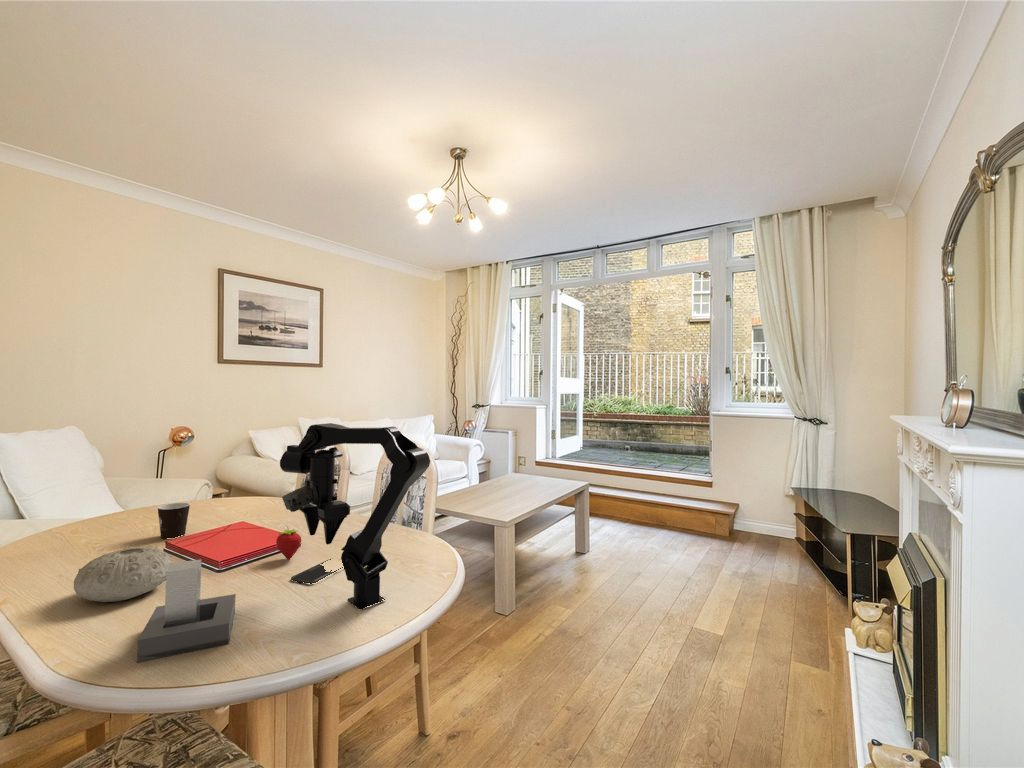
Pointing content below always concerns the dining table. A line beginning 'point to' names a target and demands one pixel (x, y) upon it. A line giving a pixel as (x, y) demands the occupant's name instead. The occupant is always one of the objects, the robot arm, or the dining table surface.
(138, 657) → the cradle
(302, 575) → the phone
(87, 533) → the dining table surface
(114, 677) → the dining table surface
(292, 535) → the strawberry
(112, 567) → the decorative shell
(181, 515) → the coffee mug
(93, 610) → the dining table surface
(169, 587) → the steel block
